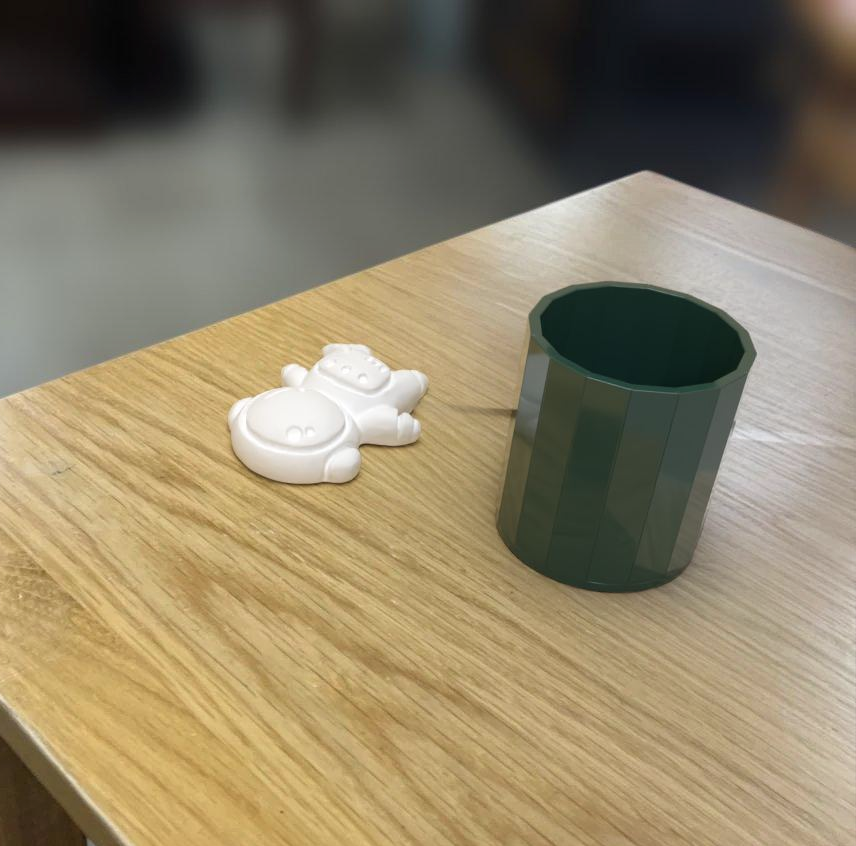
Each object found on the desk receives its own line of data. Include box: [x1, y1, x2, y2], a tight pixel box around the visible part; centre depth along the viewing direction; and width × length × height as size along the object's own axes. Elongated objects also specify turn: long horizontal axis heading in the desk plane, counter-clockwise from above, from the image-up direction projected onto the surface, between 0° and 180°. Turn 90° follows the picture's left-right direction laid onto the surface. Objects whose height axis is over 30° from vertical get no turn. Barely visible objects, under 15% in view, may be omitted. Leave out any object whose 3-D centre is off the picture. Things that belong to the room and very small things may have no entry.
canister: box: [495, 280, 758, 593], centre depth 55 cm, size 9×9×10 cm
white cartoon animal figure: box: [227, 342, 430, 485], centre depth 63 cm, size 9×12×3 cm
